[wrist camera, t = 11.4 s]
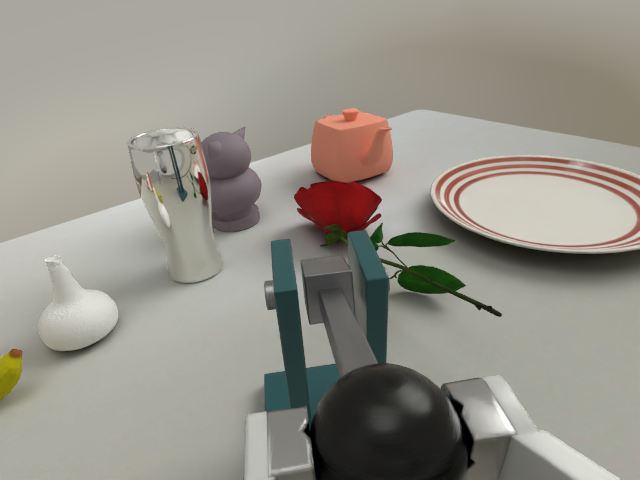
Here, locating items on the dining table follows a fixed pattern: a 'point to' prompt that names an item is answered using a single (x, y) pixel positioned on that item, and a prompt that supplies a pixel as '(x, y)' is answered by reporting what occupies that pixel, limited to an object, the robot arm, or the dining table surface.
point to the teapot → (351, 146)
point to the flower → (375, 233)
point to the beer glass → (178, 199)
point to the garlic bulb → (74, 312)
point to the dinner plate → (544, 203)
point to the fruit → (10, 371)
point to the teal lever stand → (282, 295)
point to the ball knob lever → (374, 399)
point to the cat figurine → (232, 181)
